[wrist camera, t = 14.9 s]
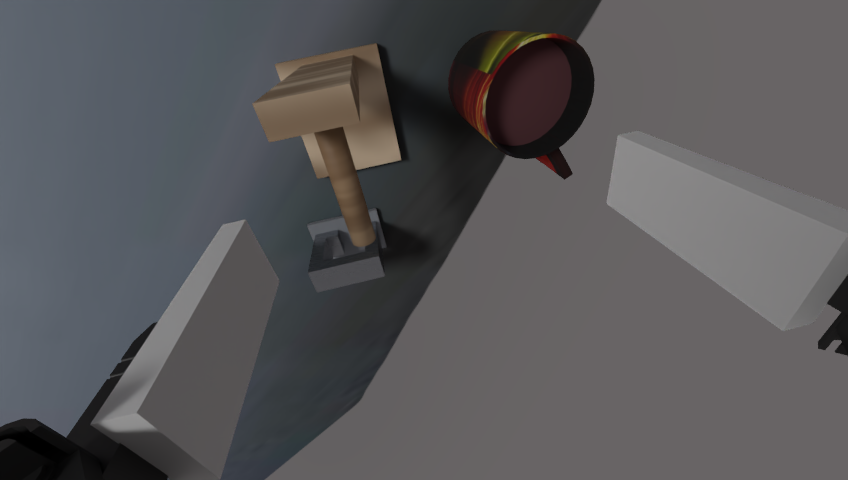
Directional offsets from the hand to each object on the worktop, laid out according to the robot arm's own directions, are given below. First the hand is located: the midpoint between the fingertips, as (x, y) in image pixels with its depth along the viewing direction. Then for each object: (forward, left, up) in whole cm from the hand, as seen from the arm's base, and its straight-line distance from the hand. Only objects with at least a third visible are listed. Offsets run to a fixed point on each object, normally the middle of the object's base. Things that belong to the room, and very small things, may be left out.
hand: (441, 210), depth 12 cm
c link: (+17, -9, -28) cm, 34 cm away
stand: (+2, -5, -29) cm, 29 cm away
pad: (+17, -9, -29) cm, 35 cm away
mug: (+3, +13, -29) cm, 32 cm away
